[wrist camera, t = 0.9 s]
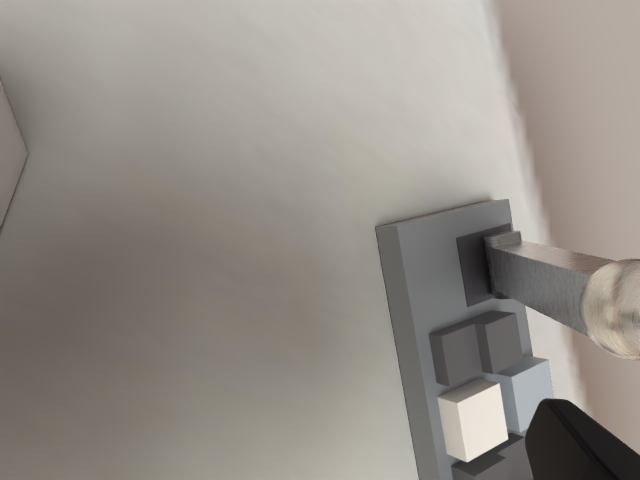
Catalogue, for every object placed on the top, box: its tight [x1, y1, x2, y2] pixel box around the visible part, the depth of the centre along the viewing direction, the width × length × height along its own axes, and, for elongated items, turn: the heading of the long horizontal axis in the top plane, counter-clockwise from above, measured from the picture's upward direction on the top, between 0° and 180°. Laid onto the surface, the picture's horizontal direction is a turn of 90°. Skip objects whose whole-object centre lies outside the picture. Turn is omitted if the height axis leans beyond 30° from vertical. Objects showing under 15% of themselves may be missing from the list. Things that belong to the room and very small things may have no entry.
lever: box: [483, 231, 640, 360], centre depth 21 cm, size 3×3×12 cm
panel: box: [375, 199, 554, 480], centre depth 26 cm, size 7×18×3 cm, turn 12°
